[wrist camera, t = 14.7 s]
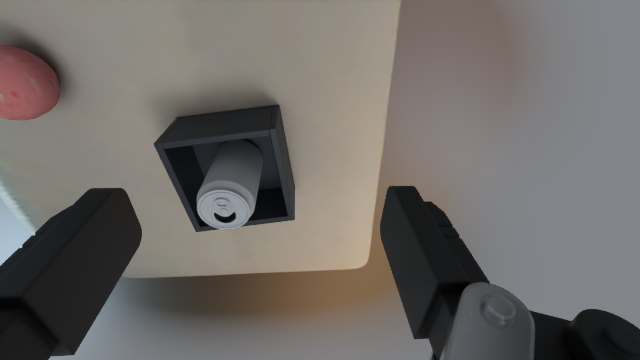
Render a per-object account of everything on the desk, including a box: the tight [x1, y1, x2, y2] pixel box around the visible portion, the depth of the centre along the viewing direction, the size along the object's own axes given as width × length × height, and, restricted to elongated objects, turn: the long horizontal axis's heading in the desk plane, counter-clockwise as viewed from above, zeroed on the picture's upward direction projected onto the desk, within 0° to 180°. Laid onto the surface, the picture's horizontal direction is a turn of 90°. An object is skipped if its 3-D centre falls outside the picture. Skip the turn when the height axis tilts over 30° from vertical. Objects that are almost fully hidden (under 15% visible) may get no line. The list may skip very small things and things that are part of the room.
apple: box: [0, 44, 60, 120], centre depth 31 cm, size 7×7×8 cm
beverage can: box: [197, 140, 263, 230], centre depth 36 cm, size 6×6×12 cm
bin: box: [154, 105, 295, 232], centre depth 39 cm, size 14×14×8 cm
